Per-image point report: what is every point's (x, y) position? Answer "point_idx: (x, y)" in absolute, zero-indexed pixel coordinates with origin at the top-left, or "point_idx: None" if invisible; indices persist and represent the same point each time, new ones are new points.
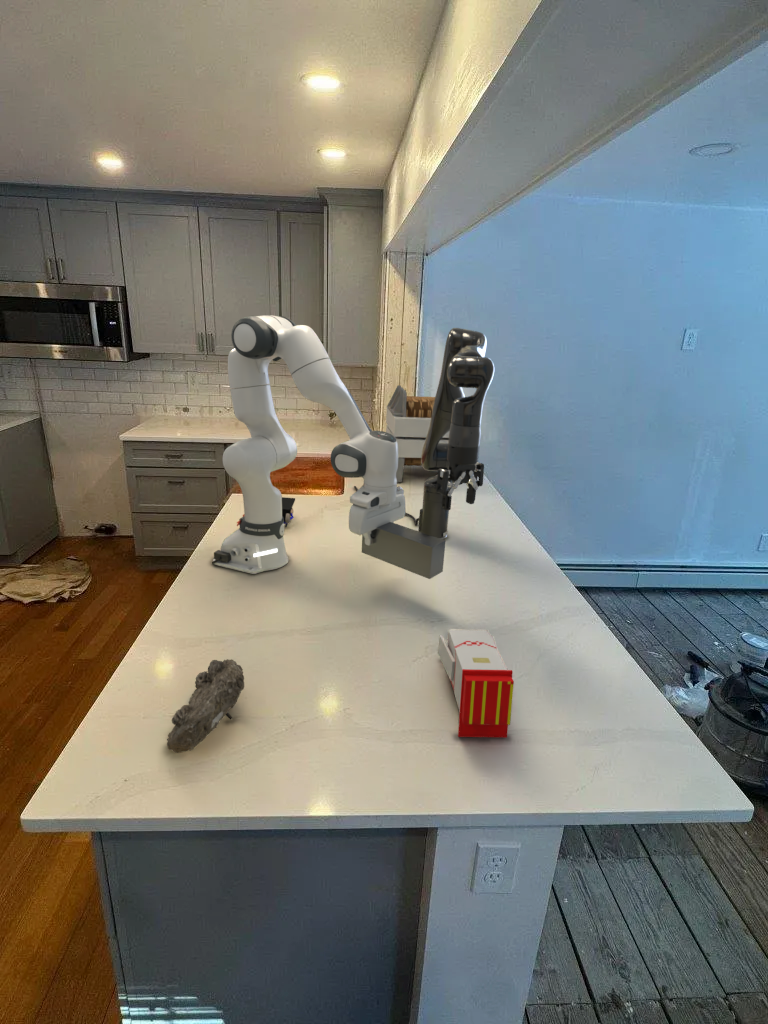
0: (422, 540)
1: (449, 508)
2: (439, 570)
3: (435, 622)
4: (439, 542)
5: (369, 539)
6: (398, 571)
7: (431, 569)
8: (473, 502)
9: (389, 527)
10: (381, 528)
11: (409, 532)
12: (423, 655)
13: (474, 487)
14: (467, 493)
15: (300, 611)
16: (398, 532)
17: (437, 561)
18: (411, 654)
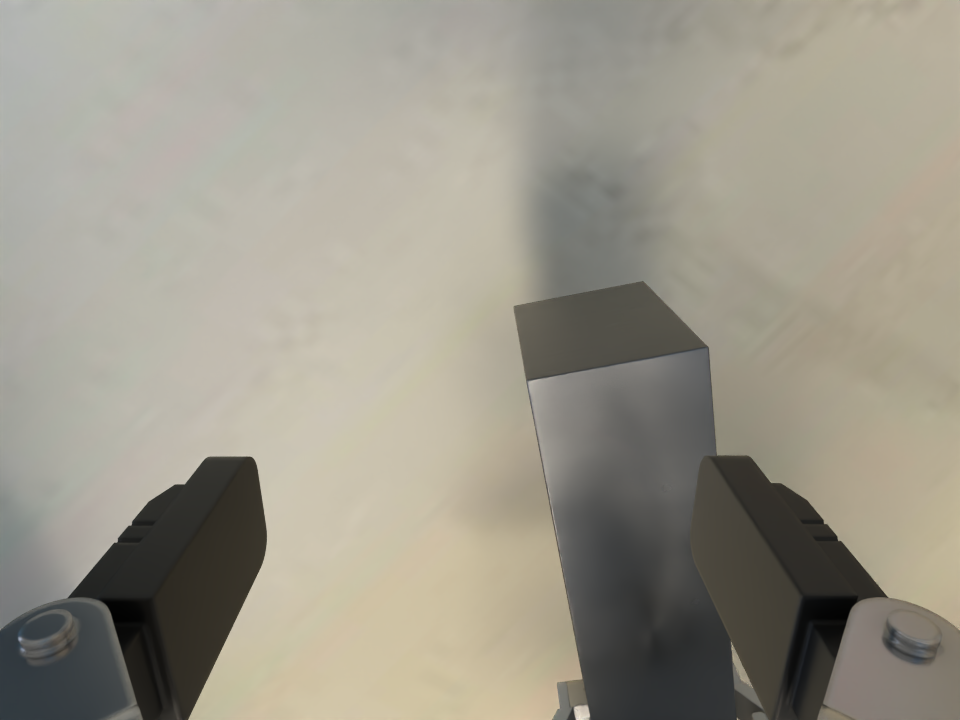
0: (666, 468)
1: (738, 463)
2: (550, 305)
3: (607, 178)
4: (594, 380)
5: (747, 684)
6: (425, 560)
7: (647, 297)
8: (219, 461)
9: (672, 707)
10: (726, 717)
11: (630, 600)
12: (851, 9)
13: (102, 649)
14: (215, 639)
15: (922, 522)
16: (690, 632)
17: (593, 319)
18: (879, 49)
